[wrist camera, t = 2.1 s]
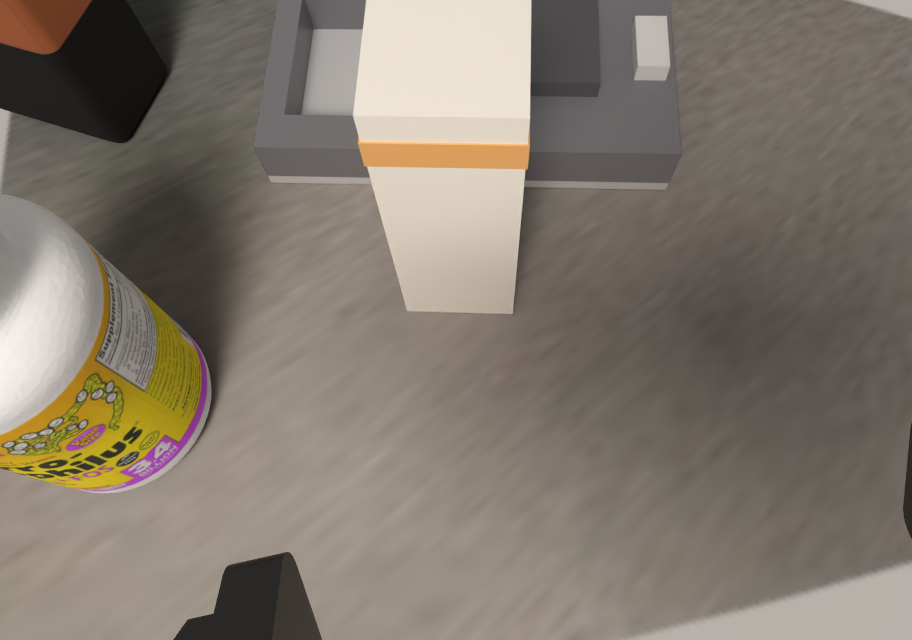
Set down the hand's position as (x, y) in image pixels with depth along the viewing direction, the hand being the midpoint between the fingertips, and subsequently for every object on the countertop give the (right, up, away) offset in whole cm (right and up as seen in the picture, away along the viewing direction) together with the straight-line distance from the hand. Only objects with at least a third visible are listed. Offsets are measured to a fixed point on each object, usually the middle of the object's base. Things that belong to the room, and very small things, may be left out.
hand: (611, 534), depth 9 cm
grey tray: (-1, +12, +22) cm, 25 cm away
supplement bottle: (-14, 0, +18) cm, 23 cm away
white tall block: (-2, +5, +19) cm, 20 cm away
